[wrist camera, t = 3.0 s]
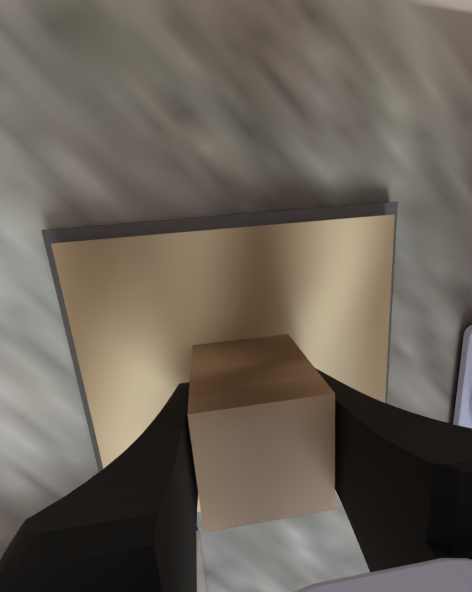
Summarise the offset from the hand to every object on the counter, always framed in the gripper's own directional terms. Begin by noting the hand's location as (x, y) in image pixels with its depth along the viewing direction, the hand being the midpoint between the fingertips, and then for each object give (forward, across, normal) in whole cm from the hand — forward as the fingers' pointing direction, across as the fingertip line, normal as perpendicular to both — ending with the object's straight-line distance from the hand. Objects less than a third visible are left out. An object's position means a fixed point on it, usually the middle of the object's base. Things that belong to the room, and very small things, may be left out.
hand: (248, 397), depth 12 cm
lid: (+2, 0, 0) cm, 2 cm away
